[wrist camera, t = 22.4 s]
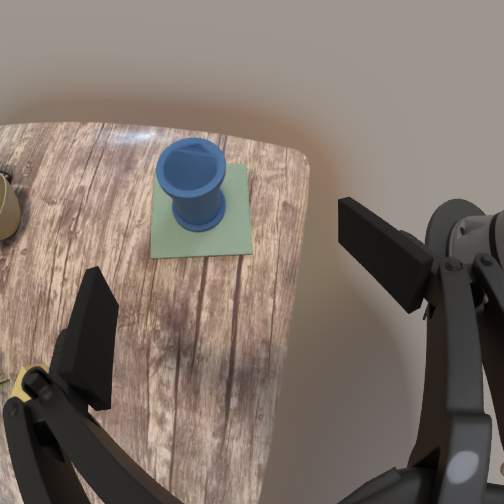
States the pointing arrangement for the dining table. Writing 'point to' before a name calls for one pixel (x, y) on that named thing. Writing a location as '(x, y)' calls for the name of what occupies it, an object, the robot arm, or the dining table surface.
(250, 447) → the dining table surface
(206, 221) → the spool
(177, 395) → the dining table surface
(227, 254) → the mat
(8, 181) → the battery charger
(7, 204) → the beige round container
